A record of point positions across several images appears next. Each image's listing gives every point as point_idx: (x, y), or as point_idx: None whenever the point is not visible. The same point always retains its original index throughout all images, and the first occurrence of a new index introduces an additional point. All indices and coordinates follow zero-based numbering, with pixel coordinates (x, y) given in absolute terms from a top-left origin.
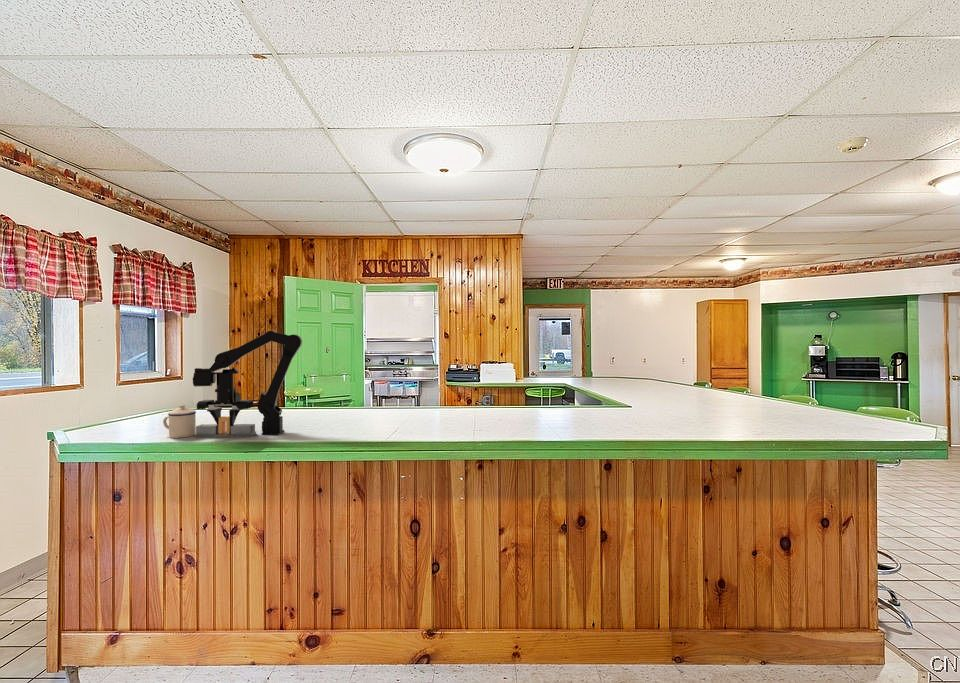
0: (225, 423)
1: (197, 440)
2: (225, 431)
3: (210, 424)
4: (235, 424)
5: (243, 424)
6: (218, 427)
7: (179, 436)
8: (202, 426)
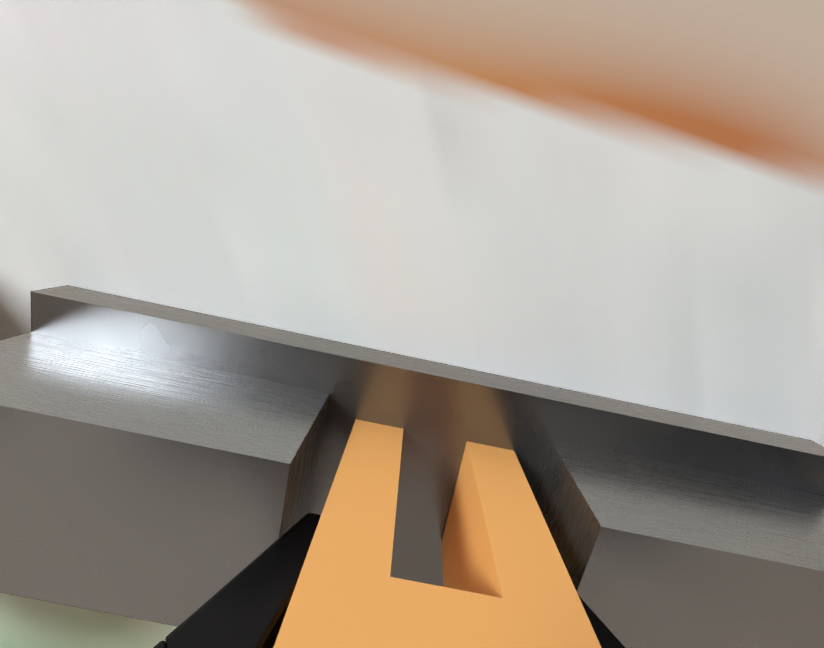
0: (393, 527)
1: (176, 627)
2: (401, 438)
3: (72, 442)
4: (602, 563)
5: (764, 603)
6: (290, 522)
7: None
8: (16, 593)
